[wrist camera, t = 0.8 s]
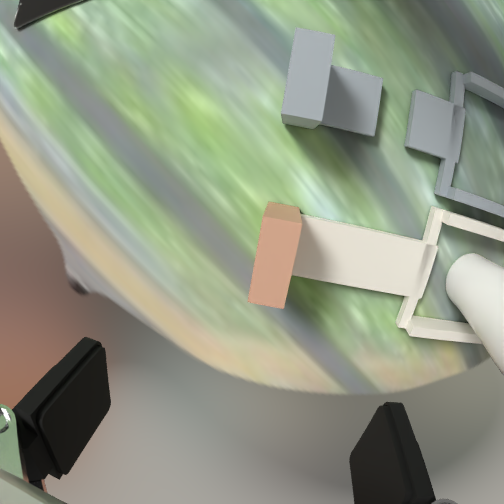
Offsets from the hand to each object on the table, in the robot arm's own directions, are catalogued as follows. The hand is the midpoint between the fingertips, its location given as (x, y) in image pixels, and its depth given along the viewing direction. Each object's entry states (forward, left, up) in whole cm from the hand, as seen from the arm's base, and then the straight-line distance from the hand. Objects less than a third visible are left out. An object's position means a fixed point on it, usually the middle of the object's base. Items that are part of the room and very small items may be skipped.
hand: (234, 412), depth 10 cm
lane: (-1, +12, -19) cm, 23 cm away
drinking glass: (-1, +19, -19) cm, 27 cm away
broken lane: (-13, +12, -19) cm, 26 cm away
